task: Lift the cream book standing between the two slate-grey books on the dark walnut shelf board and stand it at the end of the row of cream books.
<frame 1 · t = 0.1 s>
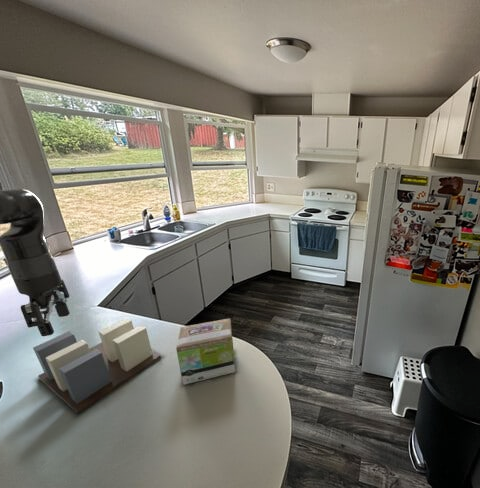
hand: (56, 324, 68), 21 cm above the table, tool pointing down, fingers open, 8 cm apart
tea box: (211, 368, 82), on the table
cream book 2: (123, 352, 85), point 1 cm above the table, touching shelf board
cream book: (78, 379, 75), point 1 cm above the table, touching shelf board
grey book 1: (92, 390, 72), point 1 cm above the table, touching shelf board
grey book 2: (66, 368, 78), point 1 cm above the table, touching shelf board
shelf board: (103, 367, 80), on the table
cream book 1: (137, 361, 82), point 1 cm above the table, touching shelf board
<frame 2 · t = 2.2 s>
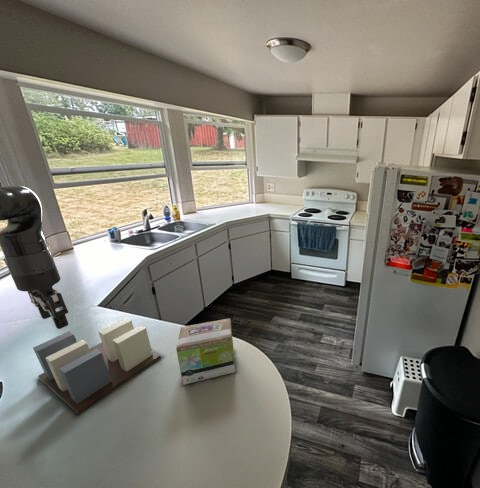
hand: (55, 321, 68), 22 cm above the table, tool pointing down, fingers open, 8 cm apart
nothing on the table moved.
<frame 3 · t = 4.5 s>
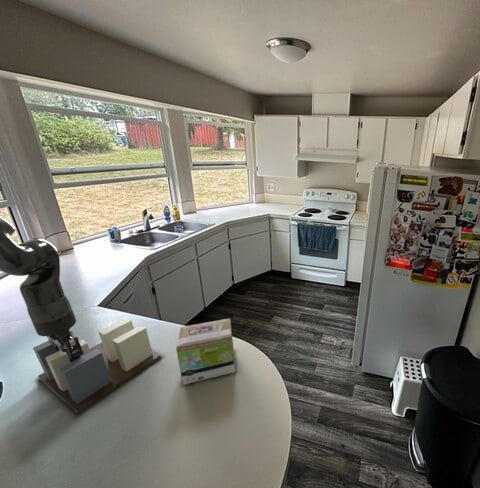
hand: (71, 360, 72), 8 cm above the table, tool pointing down, fingers open, 7 cm apart
nothing on the table moved.
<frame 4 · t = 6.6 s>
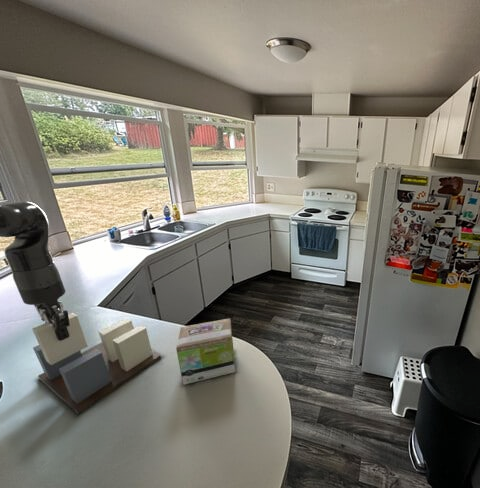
hand: (61, 336, 69), 17 cm above the table, tool pointing down, fingers closed on cream book, 3 cm apart
cream book: (68, 353, 71), point 11 cm above the table, touching gripper
everything else where it was.
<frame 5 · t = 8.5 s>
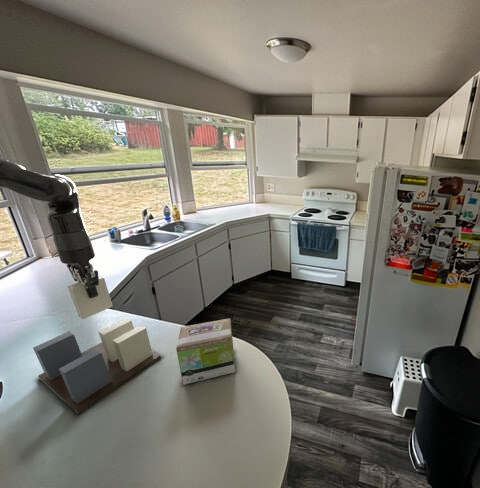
hand: (90, 295, 80), 22 cm above the table, tool pointing down, fingers closed on cream book, 3 cm apart
cream book: (96, 311, 82), point 16 cm above the table, touching gripper
everything else where it was.
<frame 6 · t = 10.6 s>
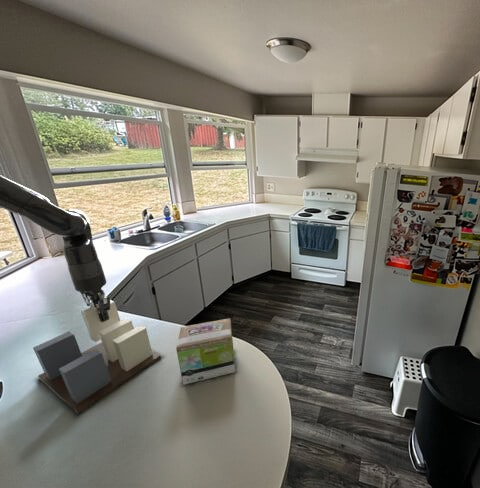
hand: (102, 318, 84), 12 cm above the table, tool pointing down, fingers closed on cream book, 3 cm apart
cream book: (107, 333, 86), point 6 cm above the table, touching gripper
everything else where it was.
when the fingers open (7 cm above the table, at t = 12.2 s): cream book stays where it is, resting on shelf board.
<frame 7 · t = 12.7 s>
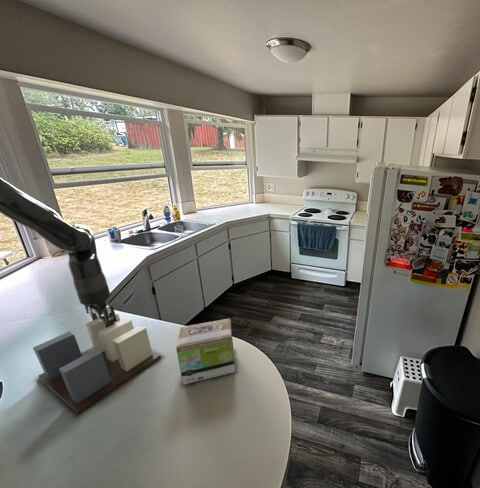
hand: (105, 328, 86), 8 cm above the table, tool pointing down, fingers open, 8 cm apart
cream book 2: (123, 352, 85), point 1 cm above the table, touching gripper, shelf board
cream book: (110, 344, 88), point 1 cm above the table, touching shelf board
everything else where it was.
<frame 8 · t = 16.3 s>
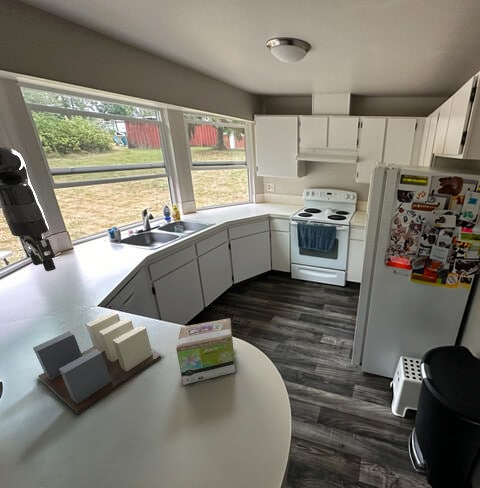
hand: (44, 267, 80), 30 cm above the table, tool pointing down, fingers open, 8 cm apart
cream book 2: (123, 352, 85), point 1 cm above the table, touching shelf board
everything else where it was.
at the end: cream book inside the target area (0.0 cm from its centre), point 1.2 cm above the table; cream book tilted 0°; cream book 8.0 cm from the cream book 2 (horizontally) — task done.
